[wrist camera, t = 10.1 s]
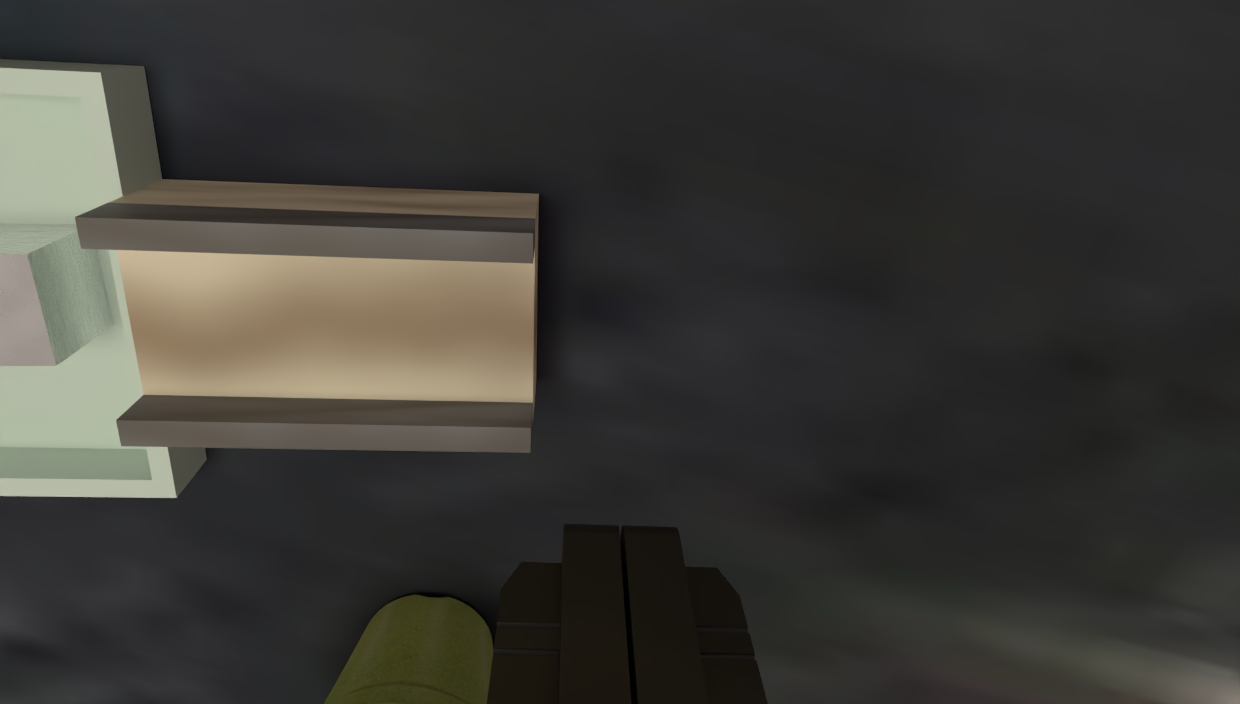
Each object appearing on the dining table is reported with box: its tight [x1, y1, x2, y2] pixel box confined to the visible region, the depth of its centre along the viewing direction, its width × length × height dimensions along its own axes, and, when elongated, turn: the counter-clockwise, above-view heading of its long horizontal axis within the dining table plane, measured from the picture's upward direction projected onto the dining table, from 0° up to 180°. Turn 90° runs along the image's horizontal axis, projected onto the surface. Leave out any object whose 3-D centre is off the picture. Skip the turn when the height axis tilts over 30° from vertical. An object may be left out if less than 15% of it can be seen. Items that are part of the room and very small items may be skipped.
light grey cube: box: [0, 224, 114, 366], centre depth 30 cm, size 4×4×4 cm
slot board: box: [75, 179, 539, 453], centre depth 30 cm, size 8×14×6 cm, turn 87°
